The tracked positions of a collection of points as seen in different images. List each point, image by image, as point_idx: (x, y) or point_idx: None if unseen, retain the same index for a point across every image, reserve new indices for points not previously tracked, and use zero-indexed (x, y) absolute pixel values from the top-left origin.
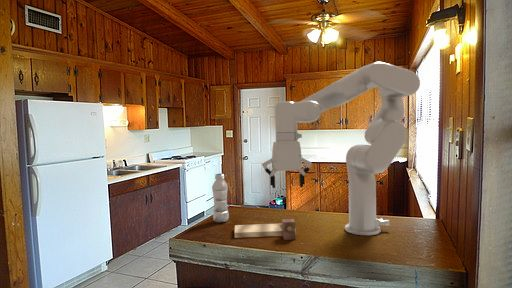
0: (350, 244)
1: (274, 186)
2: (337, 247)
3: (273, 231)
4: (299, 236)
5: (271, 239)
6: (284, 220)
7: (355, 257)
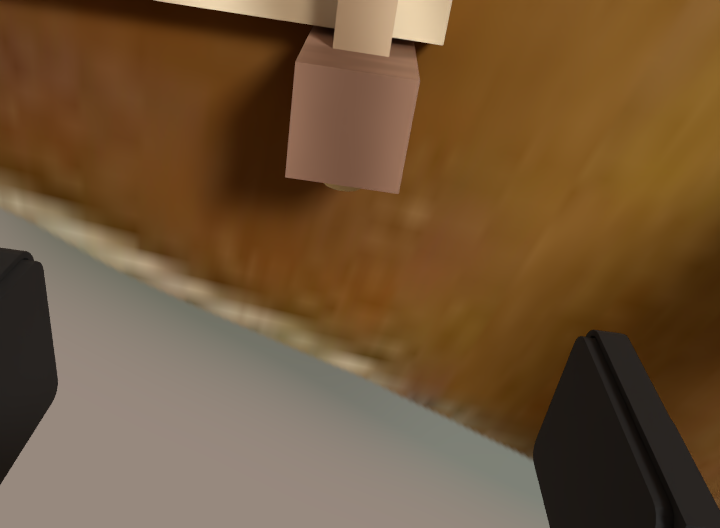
0: (711, 312)
1: (36, 411)
2: None
3: (226, 10)
4: (455, 69)
5: (207, 79)
6: (309, 117)
7: None
